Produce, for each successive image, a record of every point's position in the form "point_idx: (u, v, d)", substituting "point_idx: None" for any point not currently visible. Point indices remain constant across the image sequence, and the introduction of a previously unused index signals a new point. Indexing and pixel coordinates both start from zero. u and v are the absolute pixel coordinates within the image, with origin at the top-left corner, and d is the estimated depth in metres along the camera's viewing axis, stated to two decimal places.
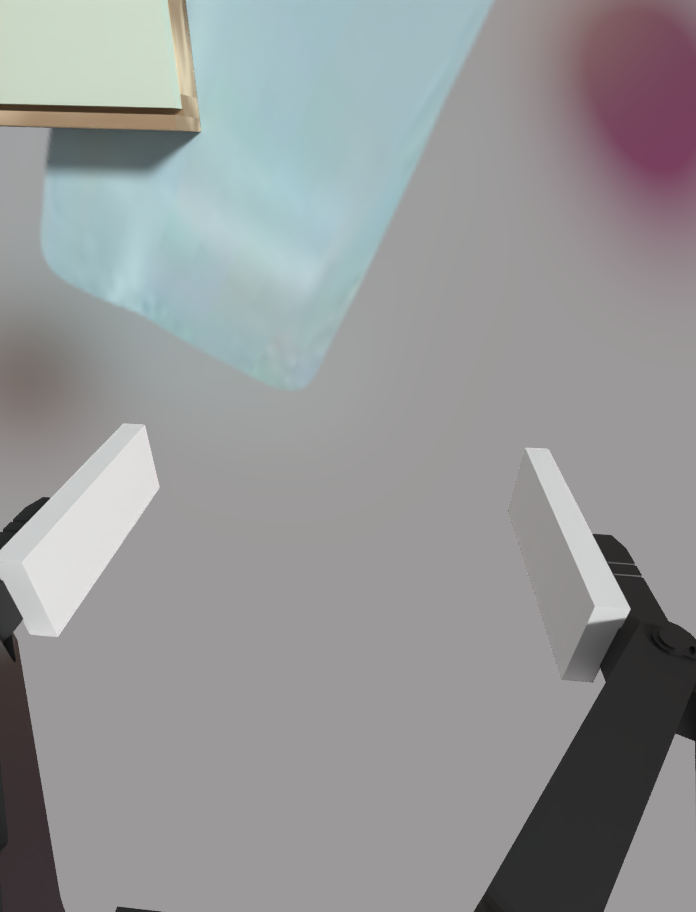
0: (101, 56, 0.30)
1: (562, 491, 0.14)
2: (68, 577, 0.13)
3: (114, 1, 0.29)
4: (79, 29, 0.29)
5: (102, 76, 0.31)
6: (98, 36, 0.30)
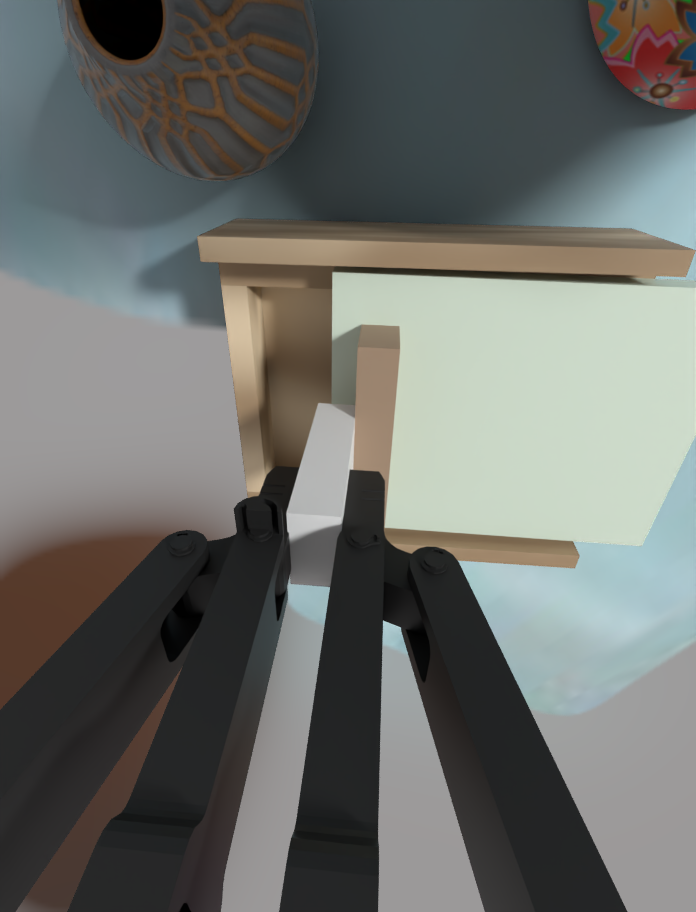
0: (562, 496, 0.21)
1: (345, 436, 0.16)
2: None
3: (615, 449, 0.20)
4: (544, 471, 0.21)
5: (551, 513, 0.22)
6: (569, 479, 0.21)
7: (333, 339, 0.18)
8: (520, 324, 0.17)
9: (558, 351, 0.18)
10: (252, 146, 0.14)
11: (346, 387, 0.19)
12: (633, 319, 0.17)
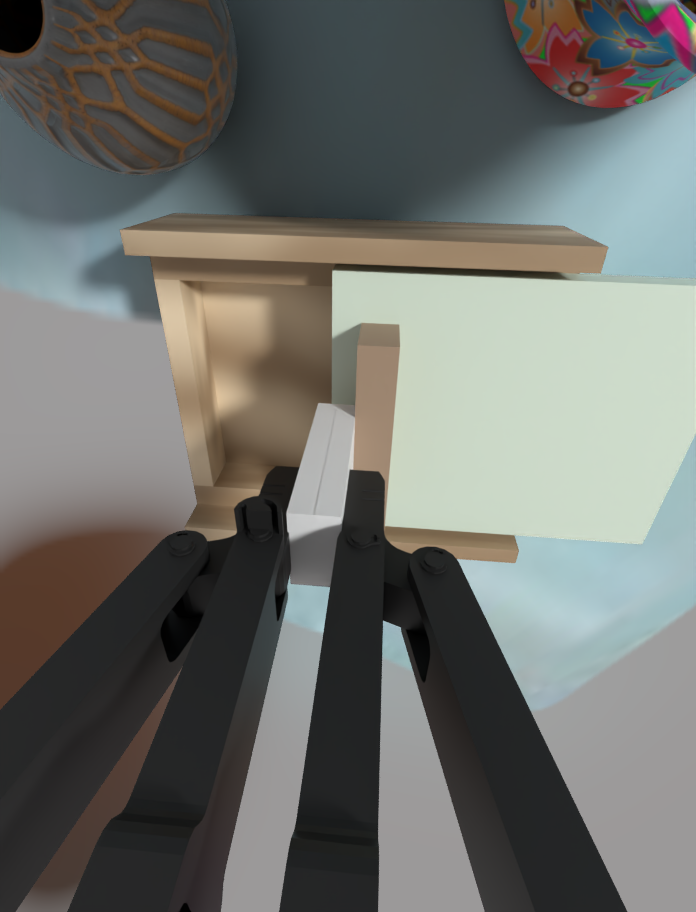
0: (562, 494, 0.21)
1: (345, 436, 0.16)
2: None
3: (615, 447, 0.20)
4: (544, 469, 0.21)
5: (551, 511, 0.22)
6: (569, 477, 0.21)
7: (333, 337, 0.18)
8: (520, 322, 0.17)
9: (558, 349, 0.18)
10: (162, 140, 0.14)
11: (346, 385, 0.19)
12: (633, 316, 0.17)
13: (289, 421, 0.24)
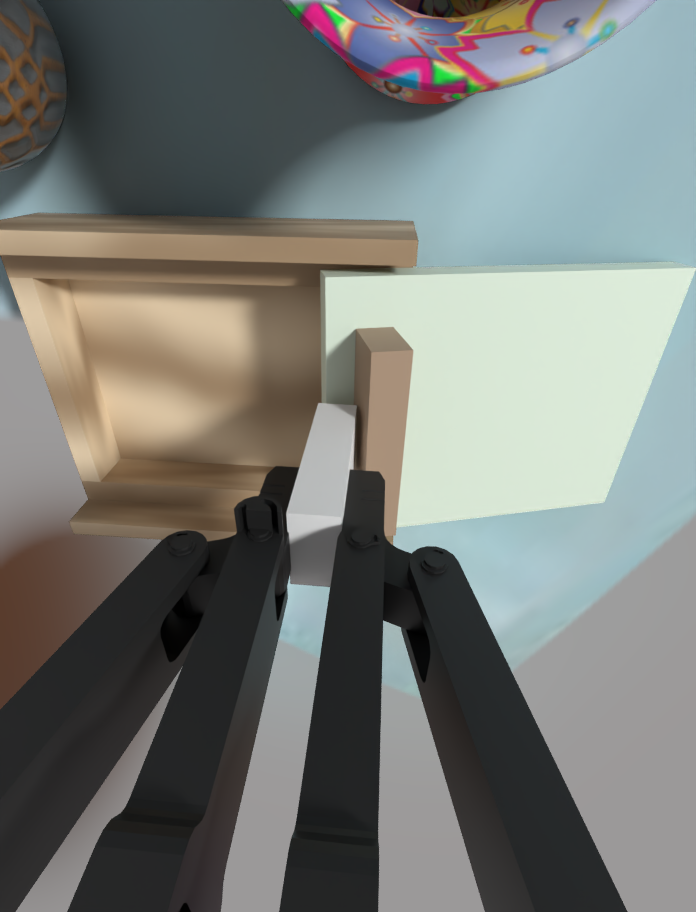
0: (540, 470, 0.23)
1: (345, 436, 0.16)
2: None
3: (583, 420, 0.22)
4: (525, 449, 0.22)
5: (531, 487, 0.23)
6: (545, 453, 0.22)
7: (327, 346, 0.17)
8: (504, 314, 0.18)
9: (536, 336, 0.19)
10: None
11: (341, 394, 0.19)
12: (597, 300, 0.19)
13: (174, 417, 0.25)
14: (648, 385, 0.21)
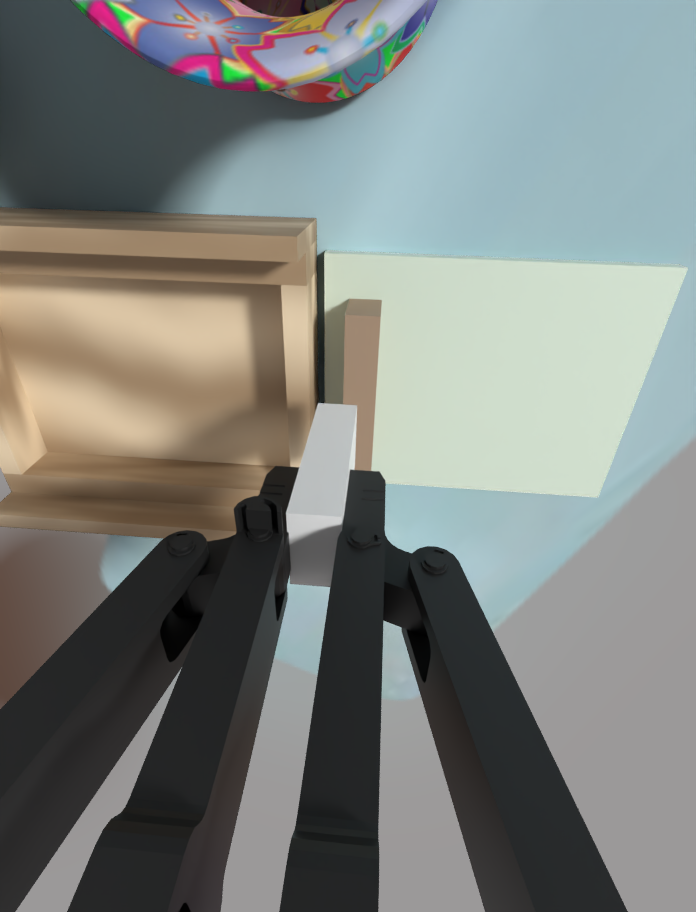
0: (526, 452, 0.24)
1: (346, 436, 0.16)
2: None
3: (570, 408, 0.23)
4: (509, 429, 0.24)
5: (518, 468, 0.25)
6: (531, 436, 0.24)
7: (325, 311, 0.21)
8: (484, 297, 0.20)
9: (517, 321, 0.21)
10: None
11: (337, 354, 0.22)
12: (579, 292, 0.20)
13: (97, 410, 0.25)
14: (640, 382, 0.22)
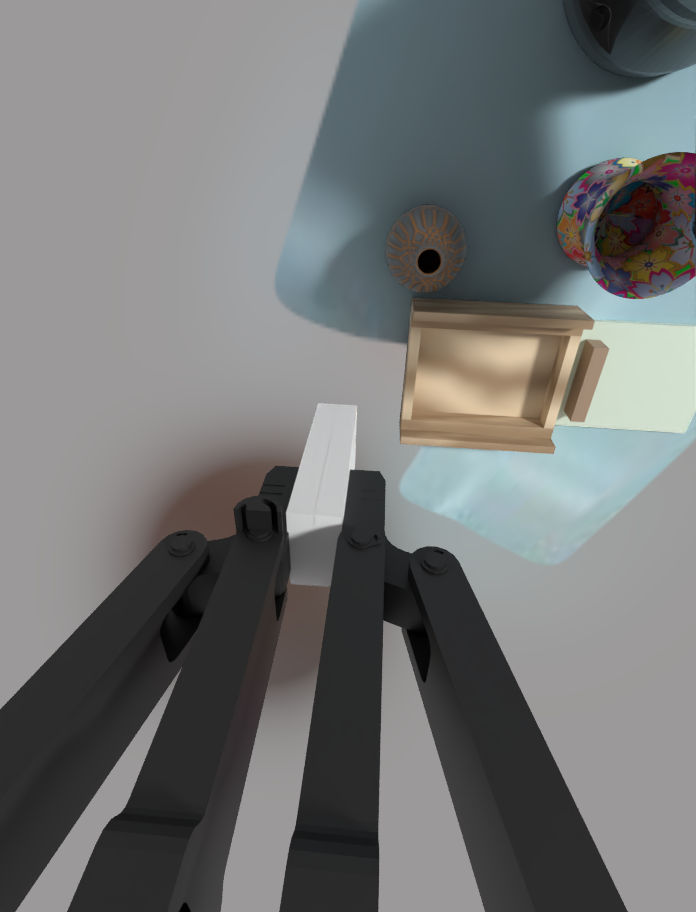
0: (653, 410, 0.51)
1: (346, 436, 0.16)
2: None
3: (677, 388, 0.50)
4: (647, 398, 0.50)
5: (647, 418, 0.52)
6: (656, 402, 0.51)
7: None
8: (646, 339, 0.47)
9: (659, 349, 0.48)
10: (444, 285, 0.41)
11: (573, 363, 0.49)
12: (688, 338, 0.47)
13: (446, 389, 0.51)
14: None
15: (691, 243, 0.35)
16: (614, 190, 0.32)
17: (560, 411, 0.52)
